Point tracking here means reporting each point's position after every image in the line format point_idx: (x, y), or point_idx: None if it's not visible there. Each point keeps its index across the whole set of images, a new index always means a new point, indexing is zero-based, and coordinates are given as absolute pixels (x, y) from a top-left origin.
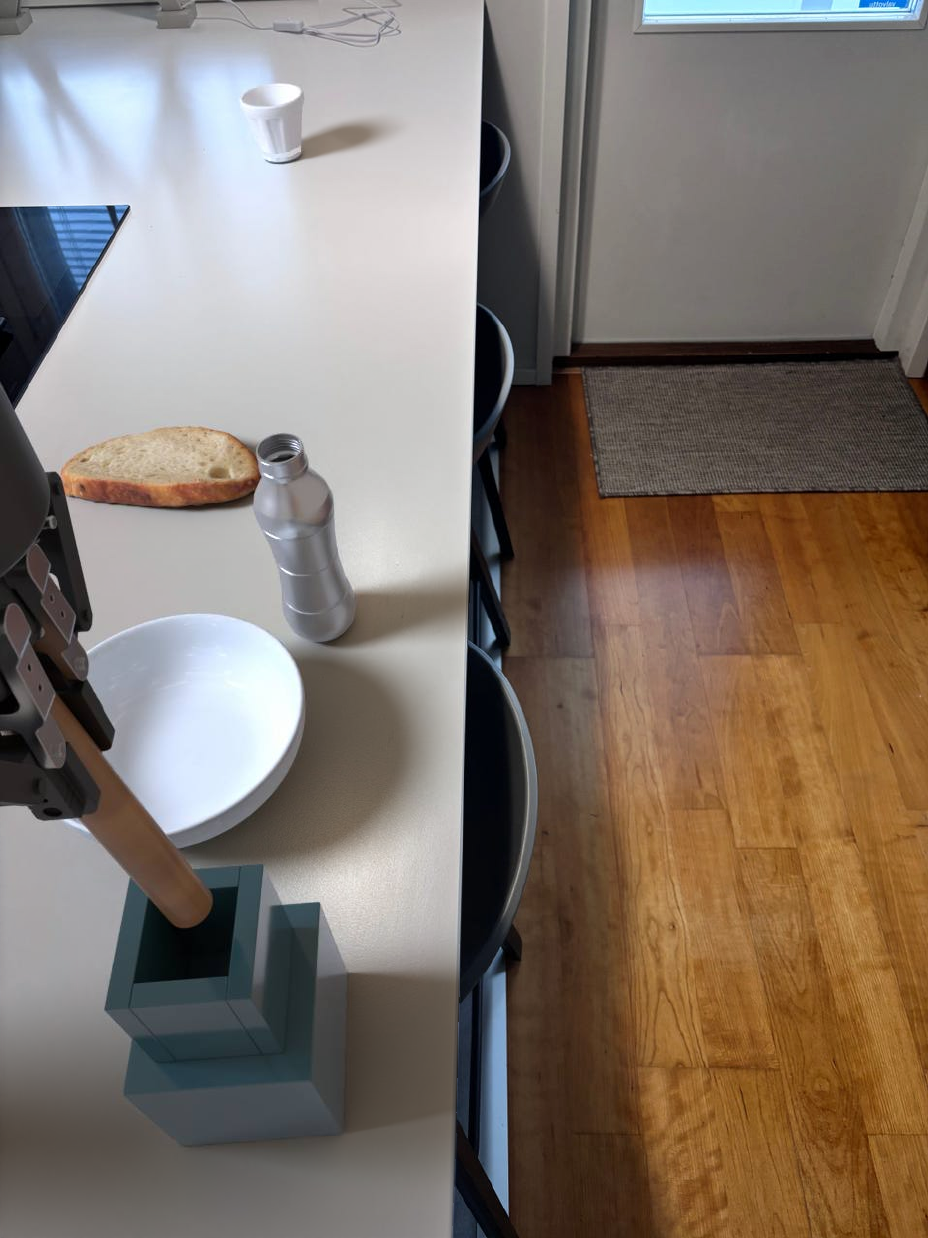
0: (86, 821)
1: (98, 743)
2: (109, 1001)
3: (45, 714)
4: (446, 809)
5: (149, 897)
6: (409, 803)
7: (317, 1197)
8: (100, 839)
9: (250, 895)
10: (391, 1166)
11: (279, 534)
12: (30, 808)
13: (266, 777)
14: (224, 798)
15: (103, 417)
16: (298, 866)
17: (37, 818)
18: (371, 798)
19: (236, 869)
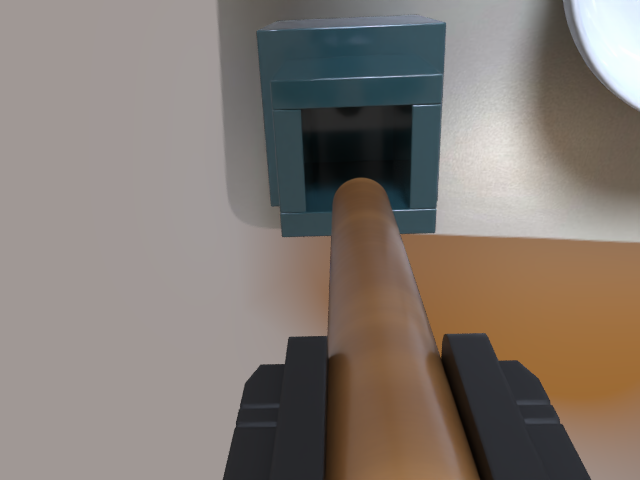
0: (329, 321)
1: None
2: (280, 85)
3: None
4: (557, 233)
5: (337, 212)
6: (572, 201)
7: (243, 140)
8: (332, 286)
9: (397, 223)
10: (265, 192)
11: None
12: (240, 413)
13: (620, 96)
14: (624, 11)
15: None
16: (526, 98)
17: (245, 384)
18: (587, 165)
19: (431, 204)
